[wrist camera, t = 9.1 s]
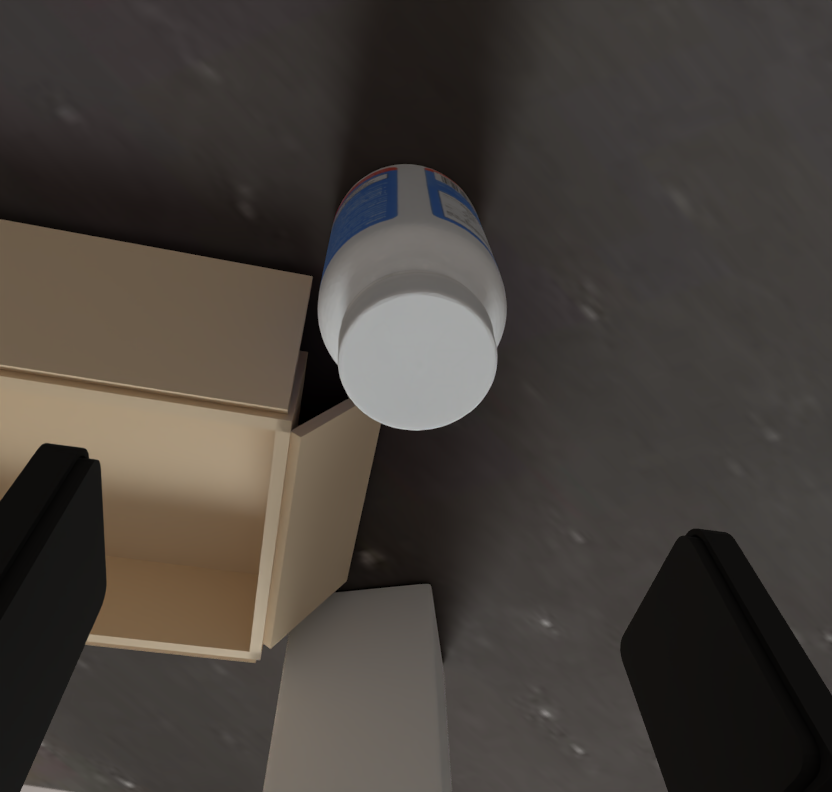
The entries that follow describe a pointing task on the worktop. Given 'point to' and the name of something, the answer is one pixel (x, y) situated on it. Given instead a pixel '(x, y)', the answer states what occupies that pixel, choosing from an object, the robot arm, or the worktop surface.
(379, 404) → the pill bottle
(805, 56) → the worktop surface
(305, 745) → the milk carton
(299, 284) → the carton
